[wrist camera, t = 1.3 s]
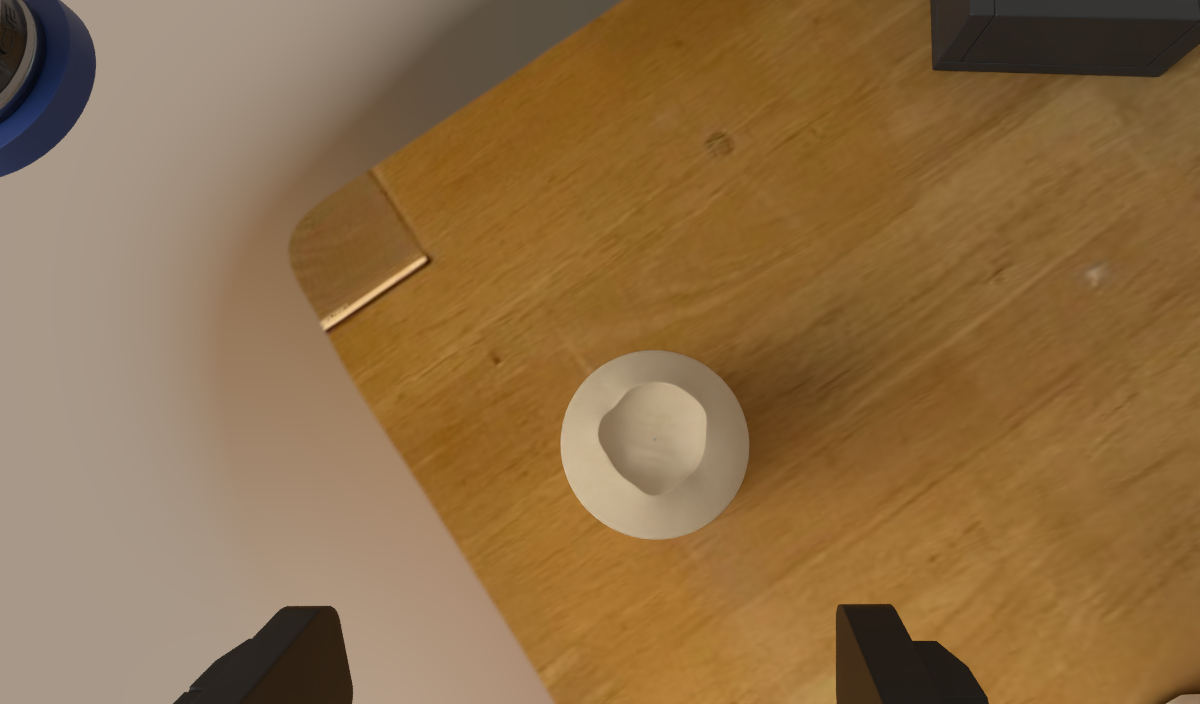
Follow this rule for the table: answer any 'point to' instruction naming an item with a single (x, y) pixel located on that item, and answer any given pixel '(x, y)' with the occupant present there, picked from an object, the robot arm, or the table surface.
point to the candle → (655, 444)
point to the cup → (1186, 699)
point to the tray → (1063, 35)
